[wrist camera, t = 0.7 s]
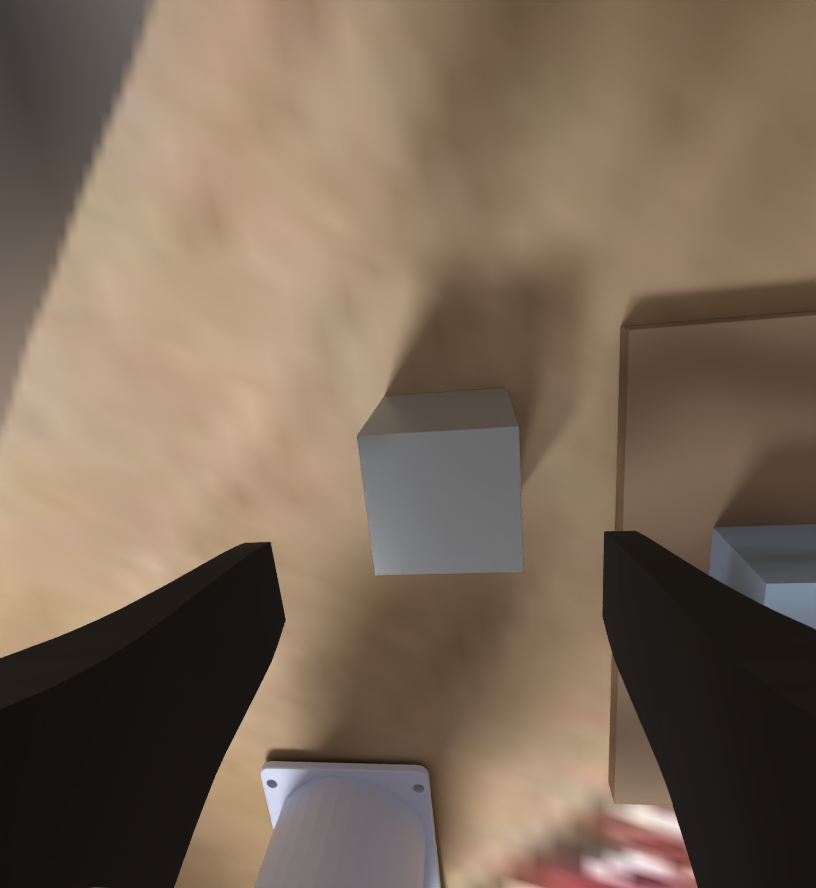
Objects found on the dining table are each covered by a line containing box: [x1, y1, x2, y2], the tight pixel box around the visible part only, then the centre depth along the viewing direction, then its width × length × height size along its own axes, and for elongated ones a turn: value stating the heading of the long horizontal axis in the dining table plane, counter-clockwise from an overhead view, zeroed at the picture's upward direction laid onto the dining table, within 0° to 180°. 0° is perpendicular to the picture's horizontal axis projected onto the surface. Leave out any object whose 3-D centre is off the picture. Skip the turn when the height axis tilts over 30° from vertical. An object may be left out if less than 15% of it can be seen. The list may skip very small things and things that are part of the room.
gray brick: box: [357, 388, 524, 575], centre depth 17 cm, size 4×4×5 cm
